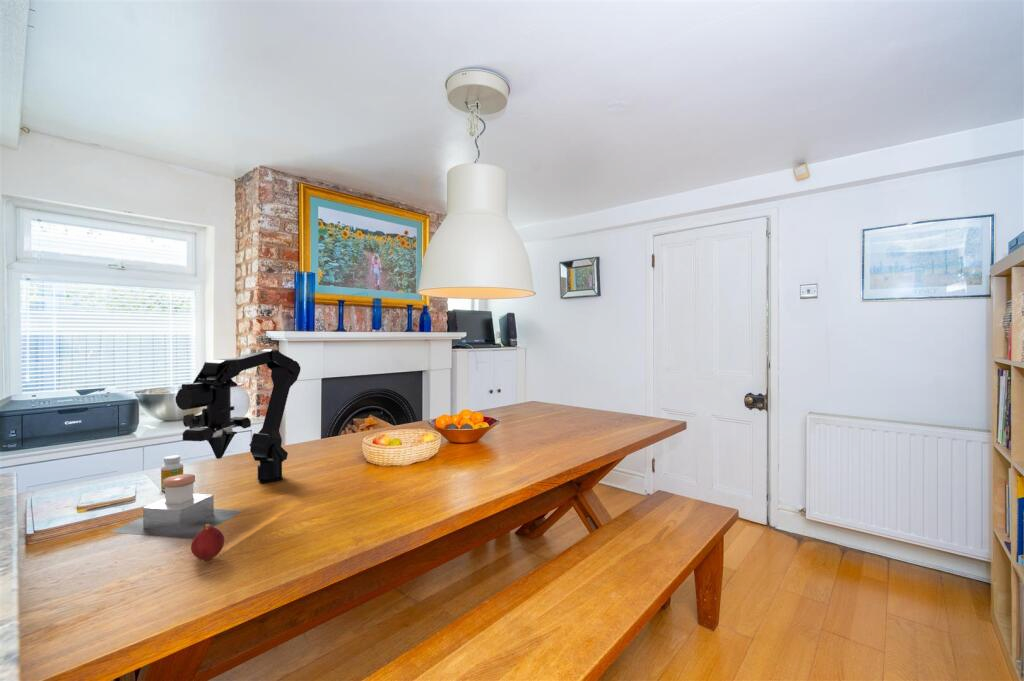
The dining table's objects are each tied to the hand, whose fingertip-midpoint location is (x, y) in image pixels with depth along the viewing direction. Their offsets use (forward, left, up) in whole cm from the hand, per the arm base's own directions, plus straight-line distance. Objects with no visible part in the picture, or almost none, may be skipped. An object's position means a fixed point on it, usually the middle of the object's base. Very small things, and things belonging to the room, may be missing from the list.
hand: (219, 458), depth 128 cm
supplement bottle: (+12, -18, -12) cm, 25 cm away
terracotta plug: (+8, +14, -7) cm, 17 cm away
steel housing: (+8, +14, -11) cm, 19 cm away
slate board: (+8, +14, -12) cm, 20 cm away
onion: (+2, +38, -12) cm, 40 cm away
